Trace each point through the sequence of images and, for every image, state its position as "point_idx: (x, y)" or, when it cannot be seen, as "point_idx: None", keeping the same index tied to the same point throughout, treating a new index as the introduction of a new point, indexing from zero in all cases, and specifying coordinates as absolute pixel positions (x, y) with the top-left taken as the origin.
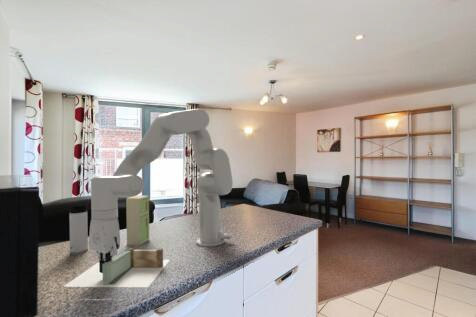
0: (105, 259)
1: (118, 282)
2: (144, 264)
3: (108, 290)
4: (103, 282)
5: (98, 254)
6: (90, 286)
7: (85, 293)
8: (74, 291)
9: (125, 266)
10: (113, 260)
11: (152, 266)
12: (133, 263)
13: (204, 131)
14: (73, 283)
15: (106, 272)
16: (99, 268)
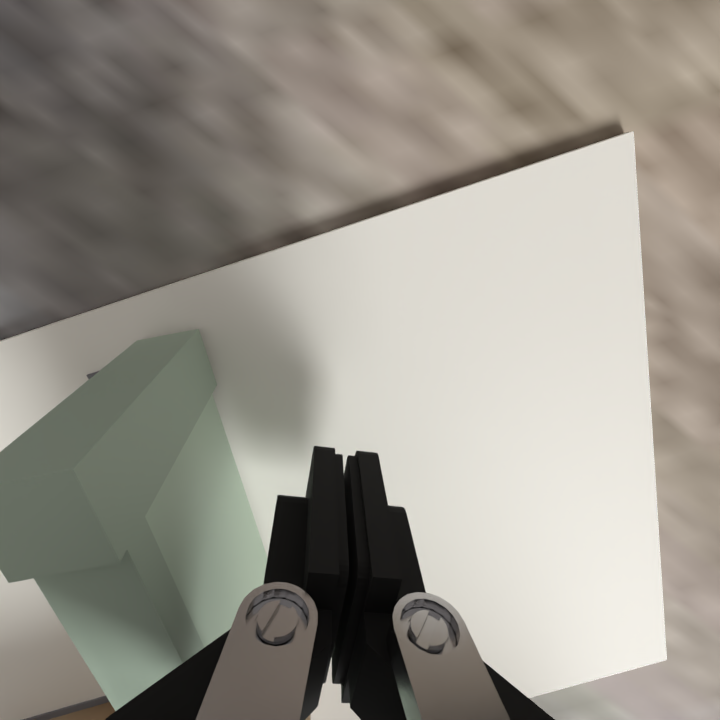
0: (234, 619)
1: None
2: None
3: (40, 270)
4: (182, 335)
5: (478, 693)
6: (302, 249)
7: (229, 120)
8: (407, 111)
9: None
10: (110, 648)
11: (75, 717)
12: None
13: None
14: (565, 233)
15: (69, 401)
16: (381, 480)
